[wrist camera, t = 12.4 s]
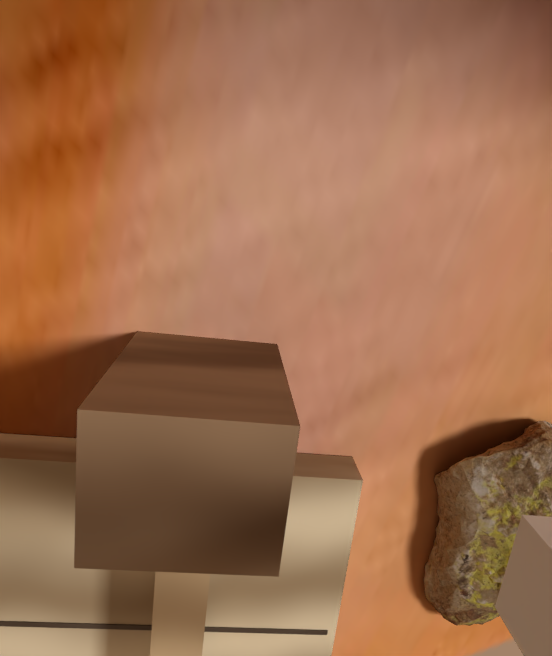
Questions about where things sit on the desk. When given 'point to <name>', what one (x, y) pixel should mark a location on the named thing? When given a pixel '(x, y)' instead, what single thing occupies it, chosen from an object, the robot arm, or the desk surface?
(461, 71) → the desk surface
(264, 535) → the brown blocky t-shaped piece
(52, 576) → the board
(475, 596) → the rock
